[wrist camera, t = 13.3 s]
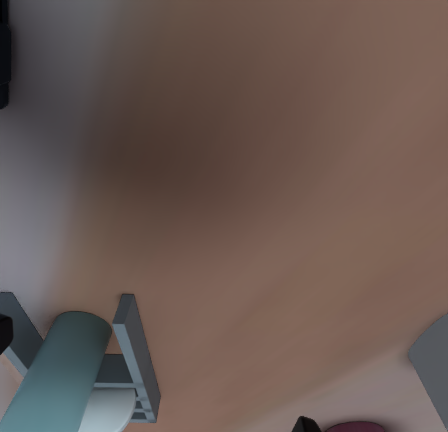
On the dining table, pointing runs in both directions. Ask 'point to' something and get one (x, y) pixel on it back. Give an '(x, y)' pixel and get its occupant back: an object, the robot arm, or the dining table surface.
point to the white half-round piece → (108, 409)
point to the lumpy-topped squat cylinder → (433, 364)
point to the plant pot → (356, 427)
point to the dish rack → (111, 364)
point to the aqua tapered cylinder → (60, 376)
